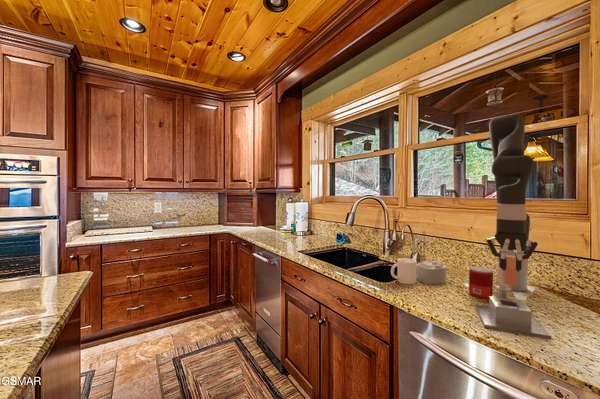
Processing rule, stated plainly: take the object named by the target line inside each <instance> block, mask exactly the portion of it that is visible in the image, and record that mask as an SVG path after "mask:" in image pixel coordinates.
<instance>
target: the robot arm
mask: <svg viewBox="0 0 600 399" xmlns="http://www.w3.org/2000/svg"><path fill="white" fill-rule="evenodd" d="M525 130H526V128H525V119H524V117H523V115H522V114H520V113H514V114H510V115H504V116H499V117H494V118H492V119H490V121H489V123H488V131H489V138H490V143H491V151H492V157H493V158H492V159H493V162H492V165H491V173H492V175H493V176H494V183H495V184H494V185H495V192H496V202H497V203H496V204H497V205H496V206H497V207H496V224H495V225H496V226H495V227H496V231H495V234H494V236H493V237H490V238H488V237H486V238H485V242H486V244H487V246H488V248H489V250H490V252H491V254H492V255H493V256H494V257H497V258H498V263H499V267H500V268H501V269H502V270H505V269H506V259H505V255H508V256H514V257H516V270H517V286H514V285H508V286H509V287H511V291H517V292H526V291H528V279H529V278H528V275H529V274H528V273H529V270H528V269H529V267H528V266H529V259H530V258H531V256H532V255H533V253H534V251H535V250H536V249H537V246H538V245H539V243H538V242H536V241H534V240H530V236H529V235H530V227H531V218H530V215H529V214H528V213H527V207H526V200H527V199H526V198H527V196H526V194H527V187H528V184H529V182H530V181H529V180H530V178H531V176H532V174H533V171H534V168H535V162H534V159H533V157H531V156H530V155H525V149H524V138H525ZM496 242H497V243H498V244H499V251H497V249H496V247H495V245H496V244H495V243H496Z"/></svg>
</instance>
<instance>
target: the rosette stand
mask: <svg viewBox="0 0 600 399" xmlns="http://www.w3.org/2000/svg"><path fill="white" fill-rule="evenodd" d="M496 264H497V265H496V284H495V283H494V284H493V289H495V290H496V296H493V295H492V296H489V299H488V301H489V302H488V305H483V304H482V305H480V304H475V306H474V307H475V309H476V312H477V314H478V316H479V319H480V320H481V322H482V324H483V326H484V329H491V330H495V331H501V332H507V333H511V334H512V333H513V334H518V335H524V336H530V337H534V338H535V337H536V338H539V339H540V338H541V339H545V340H546V339H547V340H552V335H551V334H550V332H548V330H546V328H545V327H544V326H543V325H542V324H541V322H539V320H537V318H536V317H535V316H534V314H533V311H532V310H531V309H530V308H529V307H528V306H527V305H526V304H525V303H524V302H523V300H520V299H513V298H512V299H511V298H509V292H511V291H512V290H511V287H509V286H508V285H506V284H504V282H503V270H502V269H501V268H500V267H499V262H497V263H496Z"/></svg>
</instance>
